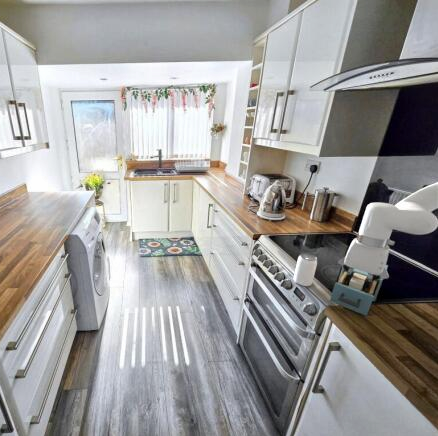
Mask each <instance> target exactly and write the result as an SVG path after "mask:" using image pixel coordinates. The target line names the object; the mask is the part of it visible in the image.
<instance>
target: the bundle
mask: <svg viewBox="0 0 438 436" xmlns="http://www.w3.org/2000/svg"><path fill="white" fill-rule="evenodd" d="M366 277H367V276H364V275H361V274H358V273H354V275H353V277H352V279H351V280H350V283H349V286H348V287H351V288H354V289H357V290H360V291H361V290H362V287H363V285H364V282H365V279H366Z"/></svg>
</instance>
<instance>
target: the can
mask: <svg viewBox="0 0 438 436" xmlns="http://www.w3.org/2000/svg"><path fill="white" fill-rule="evenodd" d="M317 265H318V258H317V256H316V255H314V254H311V253H306V252H301V253H300V254H299V256H298V258H297V261H296V267H295V270H294V275H293V281H294V283H295V284H297V285H299V286H302V287H310V286H312V285H313V282H314V277H315V274H316V270H317Z"/></svg>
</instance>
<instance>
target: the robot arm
mask: <svg viewBox="0 0 438 436" xmlns="http://www.w3.org/2000/svg"><path fill="white" fill-rule="evenodd" d="M437 209H438V182H435V183H432V184H430V185H426V186H425V187H423V188H420V189H418V190H417V191H415V192H413V193H411V194H410V195H408V196H406V197H405V198H403V199H402V200H400V201H399V202H398V203H396V204H392V203H387V202H376V201H375V202H370V203H369V204H367V206H366V207H365V211H364V214H363V216H362V220H361V224H360V226H359V230H358V233H357V236H356V237H355V238H353V240H352V241H351V243H350V245H349V247H348V249H347V252H346V255H345V256H344V257H342V258H341V259H339V260H338V261H337V264H338V265H339V266H340V267H341V268H342V267H343V268H344V269H345V271H346V272H347V274H348V275H347V278H346V281H348V282H347V285H349V283H350V280H351V279H352V277H353V275H354V272H353V270H354V269H358V270H361V271H364V272H367V273H368V277H366V279H365V282H364V285H363V287H362V290H365V288H369V285H370V282H372V281H374V280H378V279H383V280H385V279H386V280H388V279H389V278H390V275H389V273H388V269H387V270H386V268H385V265H387V262H388V259H389V255H390V246H394V245H395V243H396V242H395V241H394V240H391V239H390V237H391V235H392V233H393V231H398V232H402V233H406V234H410V235H416V236H417V235H419V236H420V235H428V234H430V233H432V232H433V233H434V231H435V230H436V229H437V228H438V218H437V216H436V215H435V214H434V213H433V211H435V210H437Z"/></svg>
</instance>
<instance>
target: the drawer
mask: <svg viewBox="0 0 438 436" xmlns="http://www.w3.org/2000/svg"><path fill="white" fill-rule="evenodd" d="M347 275H348V274H347V272H346V271H345V272H344V274H343V276H342V277H341V279H340V281H339V283H338V281H337V282H335V283H334V285H333V289H332V292H331V296H330V299H329V302H331V303H334V304H336V305H338V306H341V307H344V308H346V309H349V310H351V311H352V312H353V311H354V312H355V313H358V314H361V315H363V316H365V317H367V316H368V314H369V311H370V310H371V309H370V308H371V306H372V304H373V302H374V301H373V298H374V295H372V294H373V291H374V289H375V286H376V283H377V280H374V281H372V282H370V285H369V288H365V290H361V291H360V290H357V289H354V288H351V287H348V286H349V285H347V282H348V281H346V278H347Z"/></svg>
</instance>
